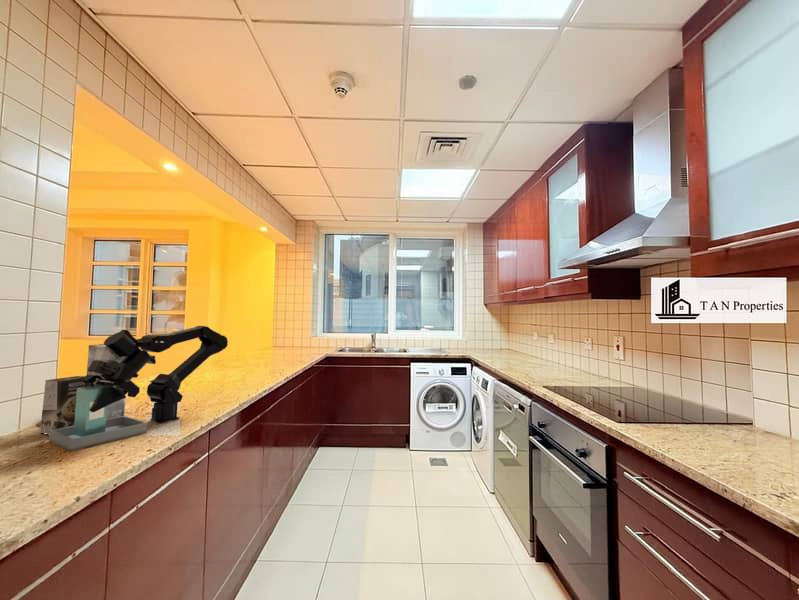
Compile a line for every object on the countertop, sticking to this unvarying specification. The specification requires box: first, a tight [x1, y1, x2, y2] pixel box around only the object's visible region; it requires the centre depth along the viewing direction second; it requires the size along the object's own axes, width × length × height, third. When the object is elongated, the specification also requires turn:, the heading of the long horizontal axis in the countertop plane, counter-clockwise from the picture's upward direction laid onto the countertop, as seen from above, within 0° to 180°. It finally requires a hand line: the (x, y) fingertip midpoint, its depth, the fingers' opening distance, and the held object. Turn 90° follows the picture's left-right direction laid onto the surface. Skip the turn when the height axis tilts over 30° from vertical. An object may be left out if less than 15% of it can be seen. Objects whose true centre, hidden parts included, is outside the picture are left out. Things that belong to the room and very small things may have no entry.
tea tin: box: [74, 385, 107, 437], centre depth 99 cm, size 5×5×13 cm
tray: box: [48, 415, 148, 453], centre depth 102 cm, size 18×14×3 cm
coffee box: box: [39, 375, 88, 434], centre depth 107 cm, size 9×6×16 cm
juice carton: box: [86, 343, 127, 419], centre depth 118 cm, size 9×10×27 cm
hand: (85, 410), depth 98 cm, fingers closed on tea tin, 5 cm apart
